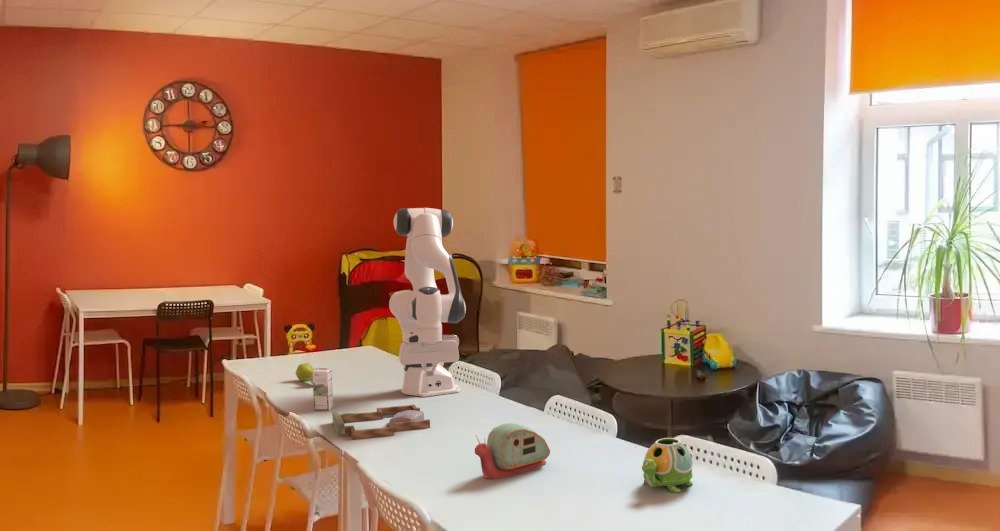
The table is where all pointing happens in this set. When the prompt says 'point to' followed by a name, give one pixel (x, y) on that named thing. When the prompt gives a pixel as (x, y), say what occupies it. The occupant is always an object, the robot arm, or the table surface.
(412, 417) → the stone block
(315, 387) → the syrup box
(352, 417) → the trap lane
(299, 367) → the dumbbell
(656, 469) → the turtle holder
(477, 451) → the toy snail
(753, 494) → the table surface
